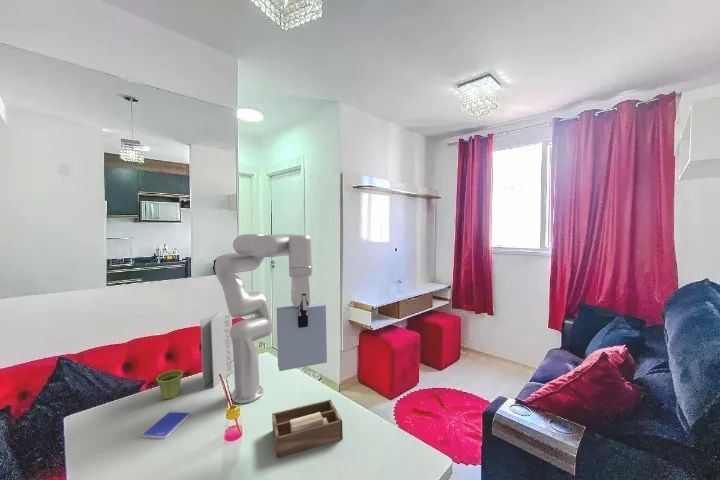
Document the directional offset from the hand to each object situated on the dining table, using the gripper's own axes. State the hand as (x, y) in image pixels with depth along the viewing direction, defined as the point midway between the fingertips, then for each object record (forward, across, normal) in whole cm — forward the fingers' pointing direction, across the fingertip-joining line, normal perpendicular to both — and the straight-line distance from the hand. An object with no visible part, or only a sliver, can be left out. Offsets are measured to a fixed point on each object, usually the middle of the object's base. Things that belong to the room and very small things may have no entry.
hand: (301, 324), depth 101 cm
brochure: (+37, -50, -30) cm, 69 cm away
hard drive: (+37, -21, -45) cm, 62 cm away
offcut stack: (+37, +7, 0) cm, 37 cm away
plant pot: (+37, -43, -48) cm, 74 cm away
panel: (+14, 0, 0) cm, 14 cm away
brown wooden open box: (+36, +4, 0) cm, 37 cm away
